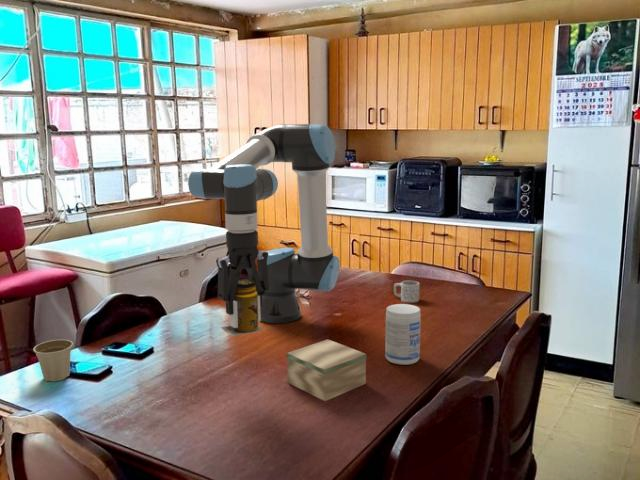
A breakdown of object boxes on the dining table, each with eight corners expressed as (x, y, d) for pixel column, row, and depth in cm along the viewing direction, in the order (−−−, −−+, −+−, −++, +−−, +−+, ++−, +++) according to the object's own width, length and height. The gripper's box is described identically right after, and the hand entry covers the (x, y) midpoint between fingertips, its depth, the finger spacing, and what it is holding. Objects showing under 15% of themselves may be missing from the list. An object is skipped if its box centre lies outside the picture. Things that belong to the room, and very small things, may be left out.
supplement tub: (416, 367, 159) (418, 315, 156) (381, 363, 161) (382, 312, 159) (421, 354, 168) (423, 304, 165) (388, 351, 170) (389, 302, 168)
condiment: (264, 330, 144) (263, 282, 141) (233, 337, 139) (231, 288, 137) (251, 322, 150) (249, 276, 147) (220, 328, 145) (218, 281, 143)
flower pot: (51, 388, 148) (47, 355, 146) (29, 379, 153) (25, 348, 151) (83, 374, 156) (80, 343, 154) (61, 367, 161) (58, 337, 159)
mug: (421, 299, 220) (422, 282, 219) (414, 303, 215) (415, 286, 214) (397, 295, 226) (397, 278, 224) (389, 299, 220) (390, 282, 219)
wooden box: (287, 382, 150) (286, 352, 148) (327, 367, 159) (327, 339, 158) (324, 401, 140) (324, 369, 138) (366, 383, 149) (366, 353, 148)
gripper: (216, 237, 131) (220, 336, 136) (283, 227, 144) (284, 318, 148) (198, 233, 137) (203, 328, 141) (264, 223, 149) (266, 311, 154)
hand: (245, 323), depth 145 cm, fingers closed on condiment, 6 cm apart
